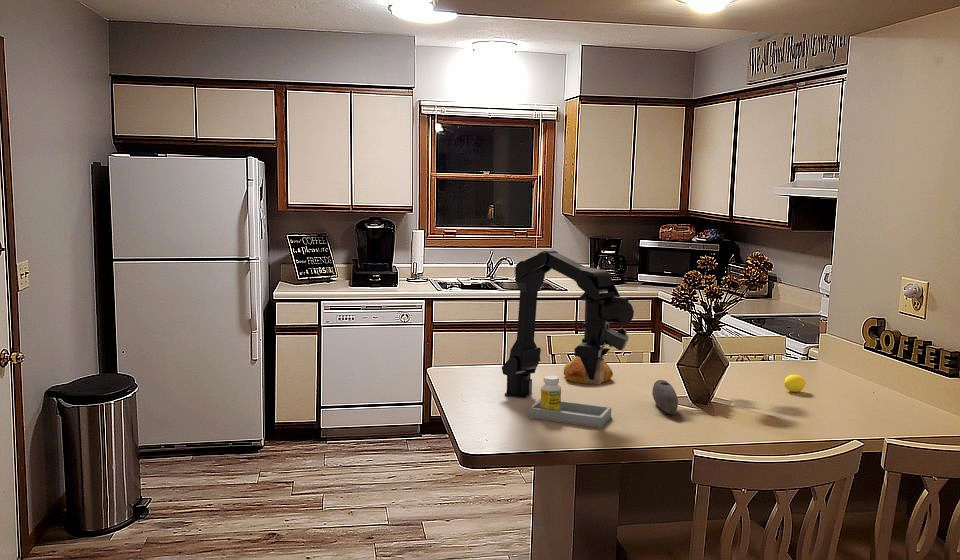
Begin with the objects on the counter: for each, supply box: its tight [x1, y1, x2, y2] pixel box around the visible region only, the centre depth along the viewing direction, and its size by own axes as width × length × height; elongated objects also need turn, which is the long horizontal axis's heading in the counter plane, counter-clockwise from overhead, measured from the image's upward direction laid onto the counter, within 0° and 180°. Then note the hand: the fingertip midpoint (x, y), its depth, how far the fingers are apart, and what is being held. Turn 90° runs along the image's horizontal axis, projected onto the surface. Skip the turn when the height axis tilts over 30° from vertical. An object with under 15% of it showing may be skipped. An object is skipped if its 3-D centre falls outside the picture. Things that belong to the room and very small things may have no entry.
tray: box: [528, 398, 612, 429], centre depth 213 cm, size 20×11×3 cm, turn 67°
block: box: [585, 357, 605, 385], centre depth 210 cm, size 4×4×6 cm
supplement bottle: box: [540, 375, 562, 411], centre depth 214 cm, size 5×5×10 cm
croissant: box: [563, 356, 614, 385], centre depth 253 cm, size 14×16×8 cm
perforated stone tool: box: [652, 379, 679, 415], centre depth 221 cm, size 15×5×7 cm, turn 1°
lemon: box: [783, 374, 807, 393], centre depth 242 cm, size 7×5×5 cm
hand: (593, 377), depth 210 cm, fingers closed on block, 4 cm apart
